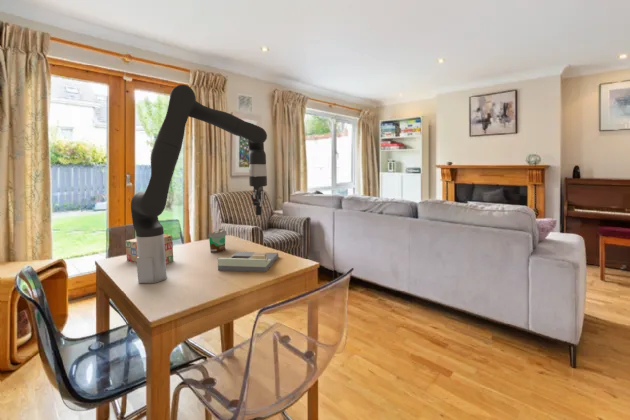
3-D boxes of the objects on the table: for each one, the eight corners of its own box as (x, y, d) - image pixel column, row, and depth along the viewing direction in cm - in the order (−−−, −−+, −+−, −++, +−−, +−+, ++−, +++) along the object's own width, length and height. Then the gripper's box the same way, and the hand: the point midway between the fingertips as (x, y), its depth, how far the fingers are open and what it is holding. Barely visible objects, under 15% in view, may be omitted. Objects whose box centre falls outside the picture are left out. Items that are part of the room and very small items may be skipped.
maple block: (264, 265, 135) (264, 255, 134) (252, 265, 135) (252, 255, 135) (266, 261, 140) (266, 252, 139) (255, 261, 140) (254, 252, 140)
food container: (221, 253, 161) (220, 233, 159) (209, 253, 162) (208, 233, 160) (231, 247, 173) (230, 228, 171) (220, 247, 174) (219, 228, 172)
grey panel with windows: (265, 271, 133) (265, 259, 132) (218, 270, 135) (217, 258, 134) (278, 256, 154) (278, 246, 154) (237, 255, 157) (236, 245, 156)
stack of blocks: (126, 260, 150) (124, 234, 149) (137, 257, 156) (135, 231, 154) (163, 265, 143) (161, 237, 142) (174, 261, 149) (172, 234, 147)
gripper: (254, 174, 149) (255, 212, 151) (244, 175, 136) (245, 217, 138) (270, 174, 148) (271, 213, 150) (262, 175, 135) (262, 217, 137)
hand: (258, 214), depth 144 cm, fingers closed
